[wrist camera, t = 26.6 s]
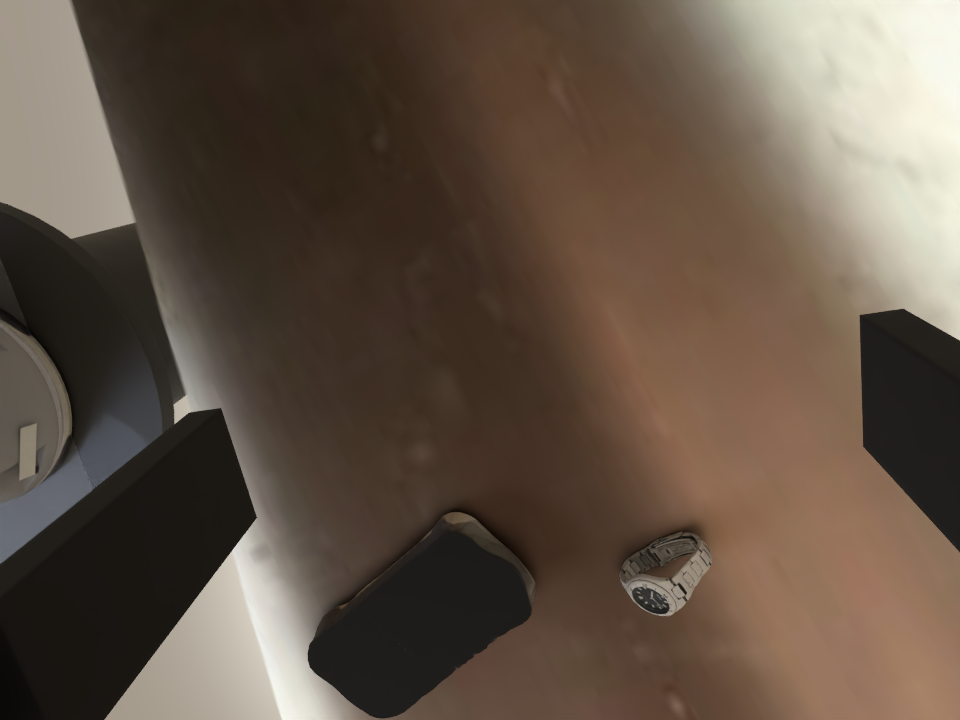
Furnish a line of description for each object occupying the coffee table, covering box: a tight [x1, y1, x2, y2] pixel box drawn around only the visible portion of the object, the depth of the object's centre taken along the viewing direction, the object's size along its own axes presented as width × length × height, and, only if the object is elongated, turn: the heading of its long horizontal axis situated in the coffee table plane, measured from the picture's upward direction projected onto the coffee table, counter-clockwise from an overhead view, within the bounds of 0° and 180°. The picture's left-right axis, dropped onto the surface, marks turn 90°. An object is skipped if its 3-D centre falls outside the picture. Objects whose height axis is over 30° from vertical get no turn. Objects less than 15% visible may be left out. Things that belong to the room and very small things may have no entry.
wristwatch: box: [619, 532, 712, 616], centre depth 45 cm, size 4×6×5 cm, turn 127°
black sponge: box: [308, 512, 536, 718], centre depth 49 cm, size 16×8×4 cm, turn 135°
